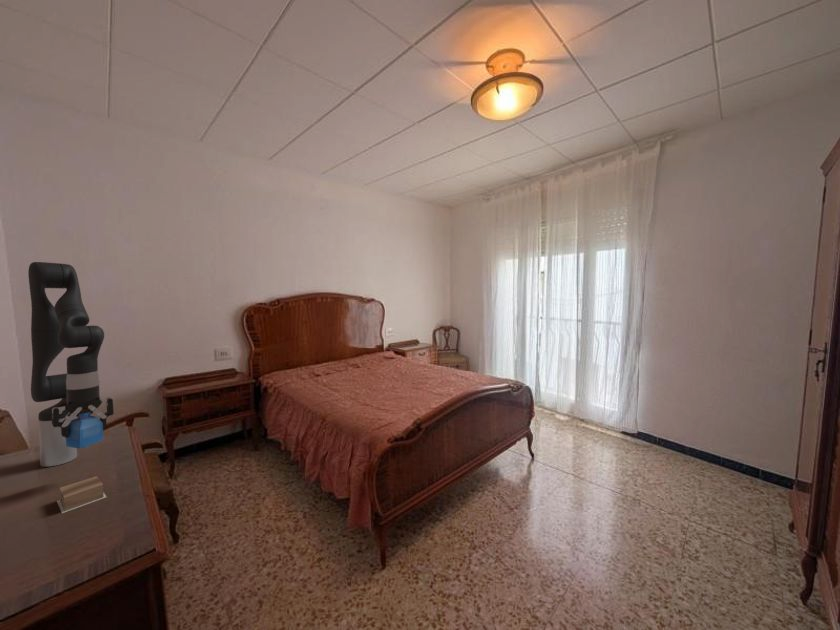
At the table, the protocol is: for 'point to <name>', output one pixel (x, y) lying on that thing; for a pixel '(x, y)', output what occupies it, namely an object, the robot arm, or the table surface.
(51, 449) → the robot arm
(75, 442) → the perfume bottle
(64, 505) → the walnut block
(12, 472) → the table surface
